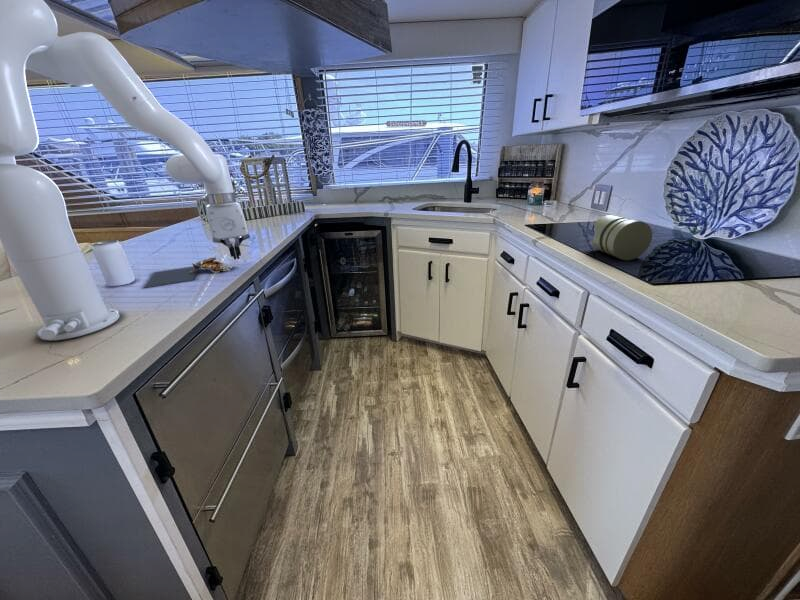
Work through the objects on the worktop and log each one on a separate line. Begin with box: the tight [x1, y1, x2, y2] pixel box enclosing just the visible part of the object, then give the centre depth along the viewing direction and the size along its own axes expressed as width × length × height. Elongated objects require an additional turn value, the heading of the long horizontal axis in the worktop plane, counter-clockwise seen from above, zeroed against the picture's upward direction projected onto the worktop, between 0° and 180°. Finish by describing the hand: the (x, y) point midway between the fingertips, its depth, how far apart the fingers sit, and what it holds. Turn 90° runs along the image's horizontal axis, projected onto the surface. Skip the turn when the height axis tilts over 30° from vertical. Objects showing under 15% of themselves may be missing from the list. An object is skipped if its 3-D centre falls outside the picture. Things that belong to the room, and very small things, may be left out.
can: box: [91, 239, 136, 288], centre depth 91 cm, size 6×6×12 cm
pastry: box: [190, 256, 234, 275], centre depth 101 cm, size 7×12×4 cm, turn 92°
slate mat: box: [143, 266, 197, 289], centre depth 98 cm, size 16×12×1 cm
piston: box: [588, 214, 653, 261], centre depth 98 cm, size 11×12×11 cm
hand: (236, 258), depth 104 cm, fingers closed
